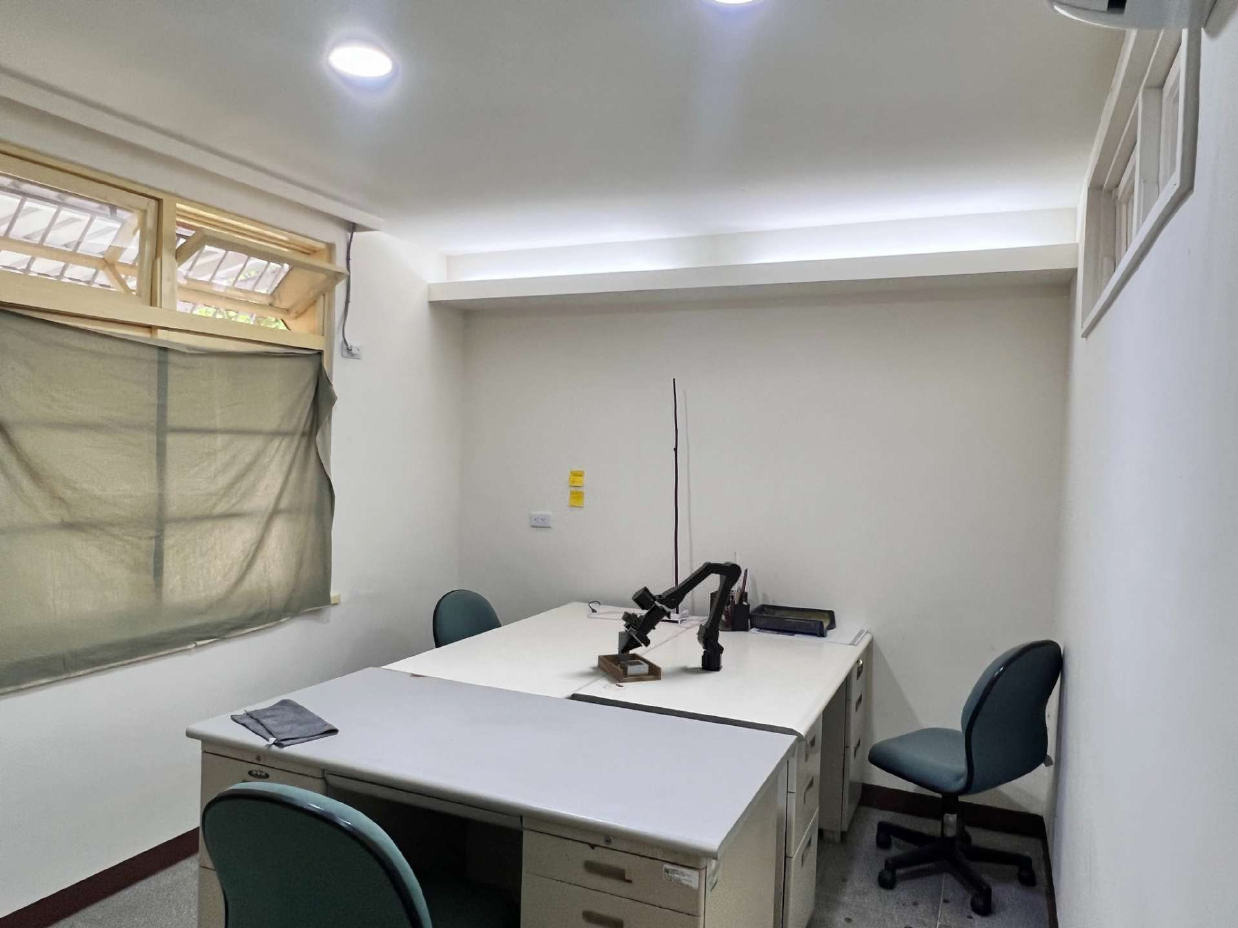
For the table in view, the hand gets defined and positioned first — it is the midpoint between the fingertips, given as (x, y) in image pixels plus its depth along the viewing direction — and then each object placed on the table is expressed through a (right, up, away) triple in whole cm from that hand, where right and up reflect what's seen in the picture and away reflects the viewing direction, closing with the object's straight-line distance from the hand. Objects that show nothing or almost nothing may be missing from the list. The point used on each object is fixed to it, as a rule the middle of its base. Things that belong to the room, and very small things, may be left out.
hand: (619, 651), depth 292 cm
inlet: (+5, -7, -9) cm, 12 cm away
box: (+3, -7, -4) cm, 9 cm away
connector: (+1, -6, 0) cm, 7 cm away
